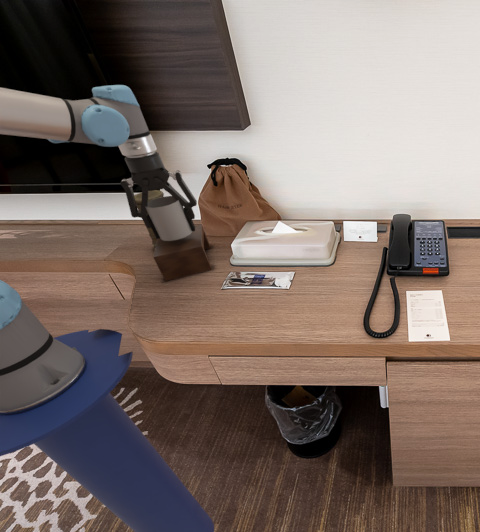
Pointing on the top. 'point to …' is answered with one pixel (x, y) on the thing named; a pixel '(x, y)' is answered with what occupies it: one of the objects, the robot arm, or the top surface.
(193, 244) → the brown wooden block
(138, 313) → the top surface
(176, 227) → the cup
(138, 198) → the container
